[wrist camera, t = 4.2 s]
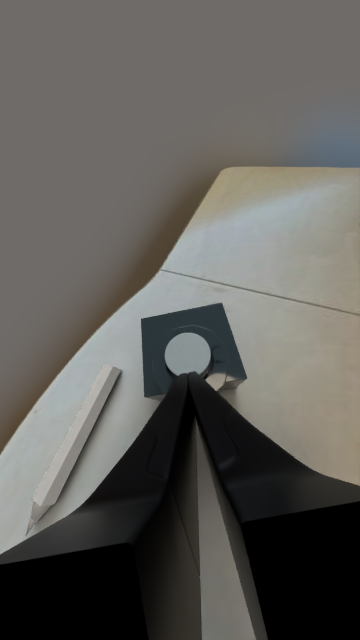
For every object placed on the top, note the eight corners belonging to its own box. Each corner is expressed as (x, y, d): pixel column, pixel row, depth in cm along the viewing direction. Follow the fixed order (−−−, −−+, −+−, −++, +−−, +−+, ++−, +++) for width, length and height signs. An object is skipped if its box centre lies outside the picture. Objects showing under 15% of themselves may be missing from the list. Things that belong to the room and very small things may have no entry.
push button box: (239, 398, 19) (258, 390, 12) (161, 412, 19) (137, 412, 13) (218, 327, 24) (223, 291, 17) (155, 339, 24) (134, 310, 17)
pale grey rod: (40, 524, 17) (116, 368, 23) (44, 542, 15) (124, 371, 22) (8, 531, 15) (100, 361, 22) (9, 552, 14) (107, 363, 20)
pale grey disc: (214, 378, 13) (216, 372, 12) (172, 385, 13) (167, 381, 12) (205, 338, 15) (204, 328, 13) (167, 345, 15) (162, 336, 13)
